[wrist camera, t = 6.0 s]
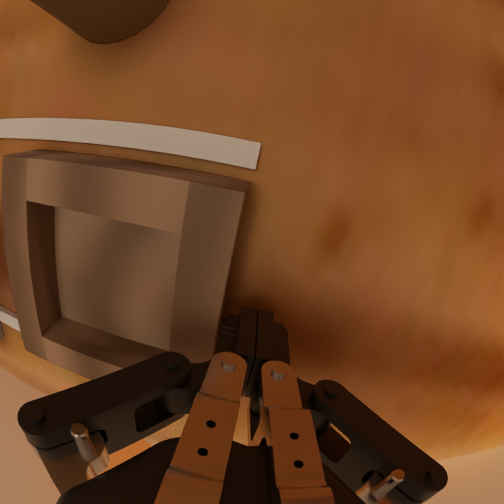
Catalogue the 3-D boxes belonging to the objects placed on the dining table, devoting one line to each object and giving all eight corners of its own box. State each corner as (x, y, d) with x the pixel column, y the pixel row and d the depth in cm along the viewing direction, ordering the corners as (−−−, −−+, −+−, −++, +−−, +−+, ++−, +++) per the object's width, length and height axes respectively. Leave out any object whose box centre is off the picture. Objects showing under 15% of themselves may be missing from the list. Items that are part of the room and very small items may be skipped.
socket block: (249, 181, 13) (244, 192, 10) (209, 377, 18) (201, 413, 15) (39, 149, 13) (3, 155, 10) (48, 325, 17) (25, 349, 14)
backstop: (271, 97, 12) (278, 40, 5) (204, 410, 19) (184, 506, 12) (-26, 92, 11) (-108, 99, 4) (-12, 326, 19) (-61, 375, 11)
